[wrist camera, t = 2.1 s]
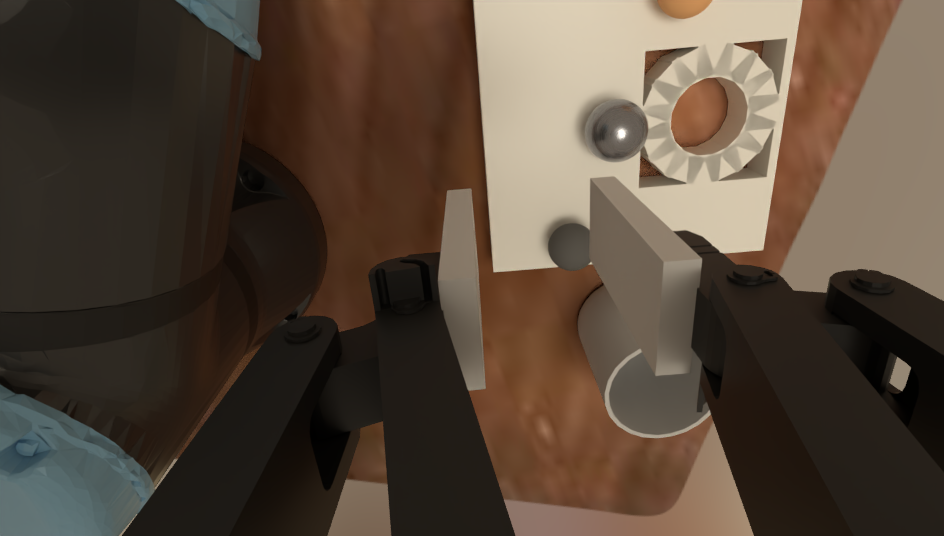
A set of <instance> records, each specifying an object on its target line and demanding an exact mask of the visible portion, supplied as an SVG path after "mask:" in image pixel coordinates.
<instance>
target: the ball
mask: <svg viewBox="0 0 944 536" xmlns="http://www.w3.org/2000/svg"><path fill="white" fill-rule="evenodd" d="M647 136H648V121H647V118H646V115H645V113H644V112H643V110H642V109H641V108H640V107H639V106H638V105H636V104H635V103H633V102H631V101H629V100H625V99H612V100H609V101H606V102H604V103H602V104H600V105H599V106H598V107H596V108H595V109H594V110H593V112H592V113H591V114H590V116H589V118H588V120H587V122H586V126H585V140H586V143H587V146H588V148H589V149H590V151H591V152H592V153H593V154H594V155H595V156H596V157H598V158H600V159H601V160H604V161H607V162H622V161H626V160H628V159H630V158H632V157H633V156H635V155H636V154H637V153H638V152H639V151H640V150H641V149H642V147H643V146H644V144H645V142H646V140H647Z"/></svg>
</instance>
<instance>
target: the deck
mask: <svg viewBox="0 0 944 536" xmlns="http://www.w3.org/2000/svg"><path fill="white" fill-rule="evenodd" d="M801 6H802V0H712V2H711V3H710V5H709V6H708V7H707V8H706V9H705V10H704V11H702V12H701V13H699V14H698V15H696V16H694V17H691V18H686V19H677V18H673V17H671V16H669V15H667V14H666V13H665V12H663V11H662V9H661V8H660V6H659V4H658V2H657V0H473V11H474V24H475V38H476V51H477V65H478V78H479V92H480V105H481V118H482V132H483V145H484V159H485V172H486V186H487V199H488V213H489V226H490V239H491V253H492V263H493V271H494V272H503V271H515V270H527V269H539V268H552V267H558V266H557V265H556V264H555V263H554V262H553V261H552V259H551V258H550V255H549V252H548V242H549V239H550V236H551V235H552V233H553V232H554V231H555V230H556V229H557V228H558V227H560V226H562V225H564V224H568V223H577V224H581V225H583V226H585V227H586V228H588V229H589V230H590V178H599V177H610V176H615V177H616V178H617V179H618V180H619V181H620V182H621V183H622V184H623V185H624V186H625V187H626V188H628V189H629V190H630V191H631V192H632V193H633V194H634V195H635V196H636V197H637V198H638V199H639V200H640V201H641V202H642V203H643V204H645V205H646V206H647V207H648V208H649V209H650V210H651V211H652V212H653V213H654V214H655V215H656V216H657V217H658V218H659V219H660V220H662V221H663V222H664V223H665V224H666V225H667V226H668V227H669V228H670V229H671V230H672V231H682V230H687V231H690V232H692V233H695V234H698V235H700V236H703V237H704V238H705V239H706V240H707V241H709V242H710V243H711V244H712V246H714V247H716V248H717V249H718V250H719V251H720V253H734V252H746V251H758V250H763V247H764V241H765V235H766V228H767V222H768V216H769V209H770V203H771V196H772V190H773V184H774V177H775V171H776V165H777V158H778V152H779V146H780V139H781V133H782V127H783V120H784V114H785V107H786V101H787V95H788V88H789V82H790V76H791V69H792V63H793V57H794V50H795V44H796V38H797V31H798V25H799V19H800V12H801ZM763 40H764V43H763V51H762V58H761V59H760V58H759V57H758V54H757V53H755V52H754V51H753V50H747V49H744V48H741V47H739V46H736V45H734V43H741V42H752V41H763ZM675 48H679V49H677V50H675V51H673V52H671V53H669V54H667V55H665V56H664V55H663V56H662V57H661V58H659V59H657V62H656V63H655V64H654V65H653V66H652V68H651V69H650V70H649V71H648V72H647V73H646V74H645V75H644V68H645V51H653V50H664V49H675ZM705 78H716V80H717V81H718V82H719V83H720V84H721V85H722V86H723V87H724V88H725V92H726V95H727V98H728V109H727V116H726V118H725V120H724V122H723V124H722V126H721V128H720V130H719V131H718V132H717V133H716V134H715V135H714V136H713V137H712V138H711V139H710V140H708V141H706V142H704V143H702V144H700V145H698V146H694V147H680V146H679V145H678V144H677V143H676V142H675V139H674V137H673V134H672V131H671V116H672V111H673V109H674V107H675V105H676V102H677V100H678V98H679V97H680V96H681V95H682V94H683V93H684V92H685V91H686V90H687V89H688V88H689V87H690V86H691V85H693V84H695V83H697V82H699V81H701V80H703V79H705ZM612 99H625V100H629V101H631V102H633V103H635V104H636V105H638V106H639V107H640V108H641V109H642V110H643V112H644V113H645V115H646V118H647V121H648V136H647V140H646V142H645V144H644V146H643V147H642V149H641V150H640V151H639V152H638V153H637V154H636V155H635V156H633V157H632V158H630V159H628V160H626V161H622V162H607V161H604V160H601V159H600V158H598V157H596V156H595V155H594V154H593V153H592V152H591V151H590V149H589V148H588V146H587V143H586V140H585V126H586V122H587V120H588V118H589V116H590V114H591V113H592V112H593V110H594V109H595V108H596V107H598V106H599V105H600V104H602V103H604V102H606V101H609V100H612ZM640 156H642V157H643V158H645V159H646V160H647V161H648V162H649V163H650V164H651V167H653V168H654V169H656V170H657V171H659V172H660V173H661V174H663V175H658V176H646V177H639V170H640ZM746 164H747V168H743V167H744V166H745V165H746ZM589 264H592V262H590V263H589Z"/></svg>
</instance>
